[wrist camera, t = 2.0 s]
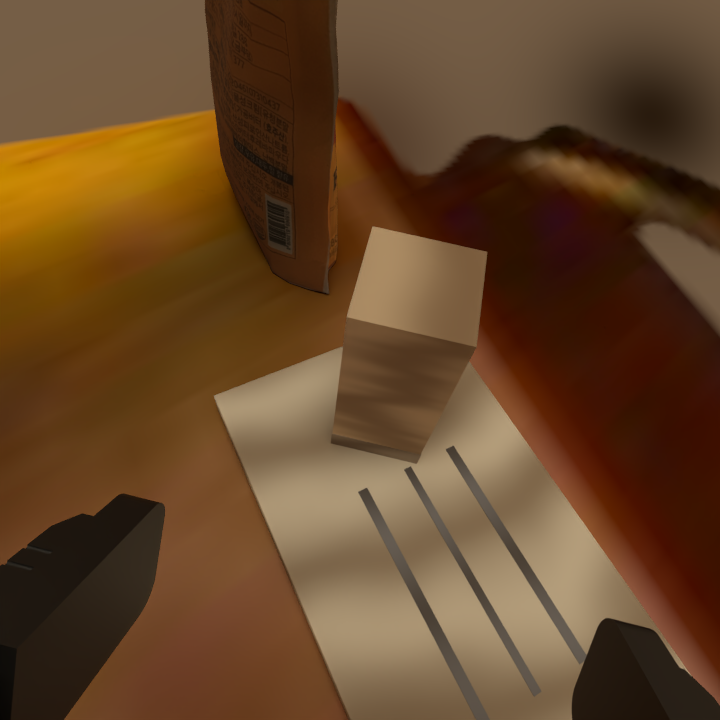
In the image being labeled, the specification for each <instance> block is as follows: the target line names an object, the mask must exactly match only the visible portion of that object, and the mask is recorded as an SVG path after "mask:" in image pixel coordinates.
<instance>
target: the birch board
mask: <svg viewBox="0 0 720 720" xmlns="http://www.w3.org/2000/svg"><path fill="white" fill-rule="evenodd" d="M342 351H343V347H340V348H337V349H335V350H332V351H329V352H327V353H324V354H322V355H319V356H316V357H314V358H311V359H309V360H306V361H303V362H301V363H298V364H296V365H293V366H290V367H288V368H285V369H282V370H280V371H277V372H275V373H272V374H269V375H267V376H264V377H262V378H259V379H256V380H254V381H251V382H248V383H246V384H243V385H241V386H238V387H235V388H233V389H230V390H228V391H225V392H222V393H220V394H217V395H215V396H214V398H215V402H216V405H217V408H218V411H219V413H220V415H221V418H222V420H223V422H224V425H225V427H226V430H227V432H228V434H229V437H230V439H231V441H232V444H233V446H234V449H235V451H236V453H237V456H238V458H239V460H240V463H241V465H242V468H243V470H244V472H245V475H246V477H247V479H248V482H249V484H250V487H251V489H252V491H253V494H254V496H255V498H256V501H257V503H258V506H259V508H260V510H261V513H262V515H263V517H264V520H265V522H266V524H267V527H268V529H269V532H270V534H271V536H272V539H273V541H274V543H275V546H276V548H277V551H278V553H279V555H280V558H281V560H282V562H283V565H284V567H285V570H286V572H287V574H288V577H289V579H290V581H291V584H292V586H293V589H294V591H295V593H296V596H297V598H298V600H299V603H300V605H301V608H302V610H303V612H304V615H305V617H306V619H307V622H308V624H309V627H310V629H311V631H312V634H313V636H314V638H315V641H316V643H317V646H318V648H319V650H320V653H321V655H322V657H323V660H324V662H325V665H326V667H327V669H328V672H329V674H330V676H331V679H332V681H333V684H334V686H335V688H336V691H337V693H338V695H339V698H340V700H341V703H342V705H343V707H344V710H345V712H346V714H347V717H348V719H349V720H572V696H573V691H574V687H575V684H576V682H577V679H578V677H579V674H580V671H581V669H582V666H583V664H584V661H585V658H586V656H587V653H588V651H589V648H590V645H591V643H592V640H593V638H594V635H595V632H596V630H597V628H598V625H599V624H600V622H601V621H602V620H603V619H605V618H611V619H615V620H619V621H623V622H627V623H631V624H635V625H639V626H643V627H646V628H650V629H652V630H654V631H655V632H656V633H657V634H658V635H659V637H660V638H661V640H662V641H663V643H664V644H665V646H666V647H667V649H668V651H669V652H670V654H671V655H672V657H673V658H674V660H675V661H676V663H677V664H678V666H679V667H680V668H682V669H685V670H686V671H687V672H688V670H687V669H686V667H685V666H684V664H683V663H682V662H681V660H680V659H679V657H678V656H677V655H676V653H675V652H674V650H673V649H672V648H671V646H670V645H669V643H668V642H667V640H666V639H665V638H664V636H663V635H662V633H661V632H660V631H659V629H658V628H657V626H656V625H655V623H654V622H653V621H652V619H651V618H650V616H649V615H648V614H647V612H646V611H645V609H644V608H643V606H642V605H641V604H640V602H639V601H638V599H637V598H636V597H635V595H634V594H633V592H632V591H631V590H630V588H629V587H628V585H627V584H626V582H625V581H624V580H623V578H622V577H621V575H620V574H619V573H618V571H617V570H616V568H615V567H614V565H613V564H612V563H611V561H610V560H609V558H608V557H607V556H606V554H605V553H604V551H603V550H602V549H601V547H600V546H599V544H598V543H597V541H596V540H595V539H594V537H593V536H592V534H591V533H590V532H589V530H588V529H587V527H586V526H585V524H584V523H583V522H582V520H581V519H580V517H579V516H578V515H577V513H576V512H575V510H574V509H573V507H572V506H571V505H570V503H569V502H568V500H567V499H566V498H565V496H564V495H563V493H562V492H561V491H560V489H559V488H558V486H557V485H556V483H555V482H554V481H553V479H552V478H551V476H550V475H549V474H548V472H547V471H546V469H545V468H544V466H543V465H542V464H541V462H540V461H539V459H538V458H537V457H536V455H535V454H534V452H533V451H532V450H531V448H530V447H529V445H528V444H527V442H526V441H525V440H524V438H523V437H522V435H521V434H520V433H519V431H518V430H517V428H516V427H515V425H514V424H513V423H512V421H511V420H510V418H509V417H508V416H507V414H506V413H505V411H504V410H503V408H502V407H501V406H500V404H499V403H498V401H497V400H496V399H495V397H494V396H493V394H492V393H491V392H490V390H489V389H488V387H487V386H486V384H485V383H484V382H483V380H482V379H481V377H480V376H479V375H478V373H477V372H476V370H475V369H474V367H473V366H472V365H471V363H470V362H468V364H467V366H466V368H465V370H464V372H463V374H462V376H461V378H460V380H459V382H458V384H457V385H456V387H455V389H454V391H453V393H452V395H451V397H450V399H449V401H448V403H447V405H446V407H445V409H444V411H443V412H442V414H441V416H440V418H439V420H438V422H437V424H436V426H435V428H434V430H433V432H432V434H431V436H430V437H429V439H428V441H427V443H426V445H425V447H424V449H423V451H422V453H421V456H420V458H419V460H418V462H417V464H415V463H411V462H407V461H402V460H398V459H394V458H390V457H386V456H382V455H377V454H373V453H369V452H365V451H361V450H356V449H352V448H348V447H344V446H340V445H336V444H331V436H332V431H333V425H334V417H335V409H336V400H337V392H338V384H339V376H340V368H341V359H342ZM688 673H689V672H688ZM689 674H690V673H689ZM690 675H691V674H690Z"/></svg>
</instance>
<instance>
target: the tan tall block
mask: <svg viewBox="0 0 720 720" xmlns="http://www.w3.org/2000/svg"><path fill="white" fill-rule="evenodd" d="M486 258H487V252H485V251H480V250H476V249H471V248H467V247H463V246H458V245H454V244H449V243H445V242H440V241H436V240H431V239H427V238H422V237H418V236H414V235H409V234H405V233H400V232H396V231H391V230H387V229H382V228H378V227H374V226H373V227H372V230H371V234H370V237H369V241H368V244H367V248H366V251H365V255H364V258H363V262H362V265H361V269H360V272H359V276H358V279H357V283H356V286H355V290H354V293H353V297H352V300H351V304H350V307H349V311H348V314H347V318H346V327H345V335H344V343H343V351H342V359H341V368H340V376H339V384H338V392H337V400H336V409H335V417H334V425H333V431H332V436H331V444H336V445H340V446H344V447H348V448H352V449H356V450H361V451H365V452H369V453H373V454H377V455H382V456H386V457H390V458H394V459H398V460H402V461H407V462H411V463H415V464H417V462H418V460H419V458H420V456H421V453H422V451H423V449H424V447H425V445H426V443H427V441H428V439H429V437H430V436H431V434H432V432H433V430H434V428H435V426H436V424H437V422H438V420H439V418H440V416H441V414H442V412H443V411H444V409H445V407H446V405H447V403H448V401H449V399H450V397H451V395H452V393H453V391H454V389H455V387H456V385H457V384H458V382H459V380H460V378H461V376H462V374H463V372H464V370H465V368H466V366H467V364H468V362H469V360H470V359H471V357H472V355H473V353H474V351H475V349H476V347H477V338H478V329H479V320H480V311H481V302H482V294H483V285H484V276H485V267H486Z"/></svg>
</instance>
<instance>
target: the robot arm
mask: <svg viewBox="0 0 720 720" xmlns="http://www.w3.org/2000/svg"><path fill="white" fill-rule="evenodd" d="M164 517H165V507H164V505H163V504H162V503H159V502H155V501H151V500H147V499H143V498H139V497H135V496H131V495H127V494H120V495H118V496H117V497H116V498H114V499H113V500H112V501H111V502H110V503H109V504H107V505H106V506H105V507H104V508H103V509H102V510H100V511H99V512H98V513H97V514H96V515H95V516H90V515H86V514H80V515H77V516H75V517H72V518H70V519H67V520H65V521H62V522H60V523H57V524H55V525H53V526H51V527H49V528H48V529H47V530H46V531H44V532H43V533H42V534H40V535H39V536H38V537H37V538H35V539H34V540H33V541H32V542H30V543H29V544H28V546H27V548H26V549H25V548H23V549H21V550H20V551H19V552H18V553H16V554H15V555H14V556H12V557H11V558H10V559H9V560H8V561H7V563H6V565H3V564H2V565H1V566H0V720H64V719H65V717H66V716H67V714H68V713H69V712H70V710H71V709H72V708H73V706H74V705H75V703H76V702H77V701H78V699H79V698H80V697H81V695H82V694H83V692H84V691H85V690H86V688H87V687H88V686H89V684H90V683H91V681H92V680H93V679H94V677H95V676H96V675H97V673H98V672H99V670H100V669H101V668H102V666H103V665H104V664H105V662H106V661H107V659H108V658H109V657H110V655H111V654H112V652H113V651H114V650H115V648H116V647H117V646H118V644H119V643H120V641H121V640H122V639H123V637H124V636H125V635H126V633H127V632H128V630H129V629H130V628H131V626H132V625H133V624H134V622H135V621H136V619H137V618H138V617H139V615H140V614H141V612H142V610H143V609H144V607H145V605H146V603H147V601H148V598H149V596H150V593H151V591H152V588H153V584H154V580H155V575H156V569H157V562H158V556H159V549H160V543H161V536H162V530H163V523H164ZM572 720H720V706H719V704H718V703H717V701H716V700H715V698H714V697H713V696H712V695H710V694H709V693H708V692H707V691H706V690H705V689H704V688H703V687H702V686H701V685H700V684H699V683H698V682H697V681H696V680H695V679H694V678H693V677H692V676H691V675H690V674H689V673H688V672H687V671H686V670H685V669H682V668H680V667H679V666H678V664H677V663H676V661H675V660H674V658H673V657H672V655H671V654H670V652H669V651H668V649H667V647H666V646H665V644H664V643H663V641H662V640H661V638H660V637H659V635H658V634H657V633H656V632H655V631H654V630H652V629H650V628H646V627H643V626H639V625H635V624H631V623H627V622H623V621H619V620H615V619H611V618H605V619H603V620H602V621H601V622H600V624H599V625H598V628H597V630H596V632H595V635H594V638H593V640H592V643H591V645H590V648H589V651H588V653H587V656H586V658H585V661H584V664H583V666H582V669H581V671H580V674H579V677H578V679H577V682H576V684H575V687H574V691H573V696H572Z"/></svg>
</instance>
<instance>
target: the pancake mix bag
mask: <svg viewBox="0 0 720 720" xmlns="http://www.w3.org/2000/svg"><path fill="white" fill-rule="evenodd" d="M337 2H338V0H205V13H206V23H207V31H208V42H209V54H210V55H209V56H210V71H211V81H212V89H213V97H214V105H215V114H216V122H217V130H218V138H219V145H220V152H221V157H222V161H223V165H224V168H225V172H226V175H227V177H228V179H229V182H230V184H231V187H232V189H233V191H234V193H235V196H236V198H237V200H238V202H239V204H240V206H241V208H242V210H243V212H244V214H245V216H246V218H247V220H248V222H249V224H250V226H251V228H252V230H253V233H254V235H255V237H256V239H257V241H258V243H259V245H260V247H261V249H262V251H263V253H264V255H265V257H266V259H267V262H268V264H269V266H270V268H271V270H272V272H273V273H274V274H276V275H278V276H279V277H281V278H282V279H284V280H286V281H287V282H289V283H291V284H294V285H298V286H301V287H304V288H307V289H310V290H314V291H319V292H323V293H328V294H329V288H328V270H329V269H330V268H331V267H332V266H333V265H334V263H335V262H336V255H337V248H338V230H337V215H338V194H337V165H336V134H335V118H336V109H337V101H338V93H339V89H338V56H337V39H336V16H337Z"/></svg>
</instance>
